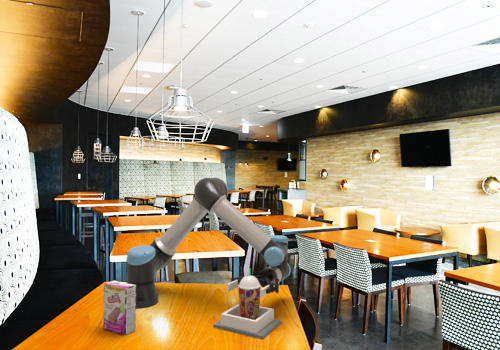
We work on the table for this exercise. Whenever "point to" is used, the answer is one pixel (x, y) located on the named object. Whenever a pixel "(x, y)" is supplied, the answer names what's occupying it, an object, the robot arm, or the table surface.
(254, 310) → the smoothie
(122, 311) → the candy bar box
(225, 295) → the table surface
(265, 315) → the board
